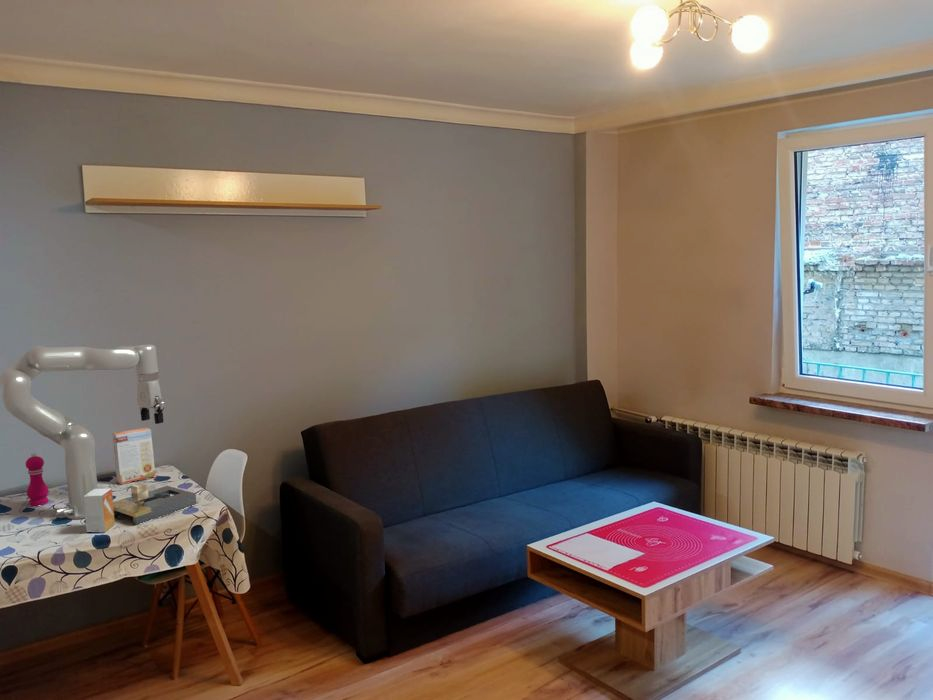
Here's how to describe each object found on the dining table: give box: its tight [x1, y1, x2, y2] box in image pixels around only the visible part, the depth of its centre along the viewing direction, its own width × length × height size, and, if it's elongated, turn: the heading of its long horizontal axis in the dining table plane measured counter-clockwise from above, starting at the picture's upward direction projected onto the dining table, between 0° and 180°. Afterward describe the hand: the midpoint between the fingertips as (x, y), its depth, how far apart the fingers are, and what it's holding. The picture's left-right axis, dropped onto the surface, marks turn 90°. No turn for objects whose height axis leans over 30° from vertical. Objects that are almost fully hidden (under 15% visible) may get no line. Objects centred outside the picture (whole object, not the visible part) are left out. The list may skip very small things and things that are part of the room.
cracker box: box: [111, 427, 156, 485], centre depth 306 cm, size 14×6×21 cm, turn 130°
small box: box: [84, 487, 116, 533], centre depth 252 cm, size 8×6×13 cm
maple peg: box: [130, 481, 149, 504], centre depth 265 cm, size 5×5×11 cm
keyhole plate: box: [113, 485, 197, 526], centre depth 269 cm, size 24×18×4 cm
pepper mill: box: [25, 452, 50, 507], centre depth 278 cm, size 7×7×20 cm
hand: (152, 421), depth 280 cm, fingers open, 9 cm apart
